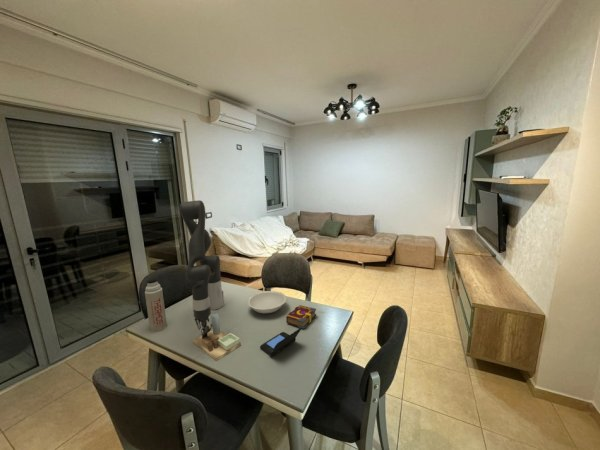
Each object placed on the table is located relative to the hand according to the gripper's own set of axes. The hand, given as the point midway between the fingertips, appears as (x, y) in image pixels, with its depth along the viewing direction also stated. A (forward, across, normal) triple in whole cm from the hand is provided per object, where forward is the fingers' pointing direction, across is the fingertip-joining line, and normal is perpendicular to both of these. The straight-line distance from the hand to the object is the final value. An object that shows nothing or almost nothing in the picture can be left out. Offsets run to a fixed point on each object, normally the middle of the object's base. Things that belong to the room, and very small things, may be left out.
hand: (204, 338), depth 118 cm
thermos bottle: (+3, +32, +9) cm, 34 cm away
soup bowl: (+3, 0, -41) cm, 41 cm away
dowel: (+1, +1, -7) cm, 7 cm away
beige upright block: (+1, -4, 0) cm, 4 cm away
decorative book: (+3, -24, -46) cm, 52 cm away
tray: (+1, -11, -6) cm, 13 cm away
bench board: (+2, -5, -3) cm, 6 cm away
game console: (+2, -31, -21) cm, 38 cm away
